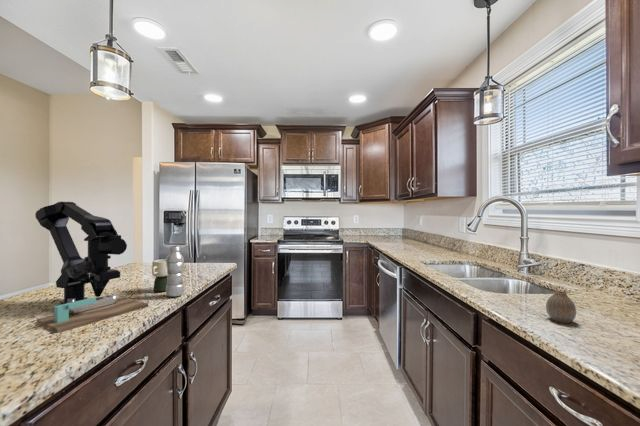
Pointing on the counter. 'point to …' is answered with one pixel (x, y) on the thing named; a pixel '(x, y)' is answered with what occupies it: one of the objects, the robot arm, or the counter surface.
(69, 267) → the robot arm
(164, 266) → the character mug
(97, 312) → the board
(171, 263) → the plastic bottle
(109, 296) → the link
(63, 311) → the keeper
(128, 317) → the counter surface
